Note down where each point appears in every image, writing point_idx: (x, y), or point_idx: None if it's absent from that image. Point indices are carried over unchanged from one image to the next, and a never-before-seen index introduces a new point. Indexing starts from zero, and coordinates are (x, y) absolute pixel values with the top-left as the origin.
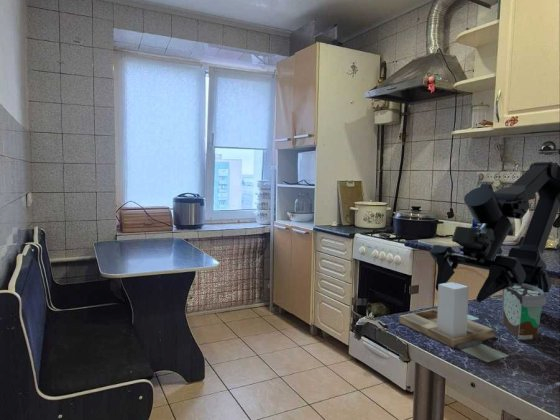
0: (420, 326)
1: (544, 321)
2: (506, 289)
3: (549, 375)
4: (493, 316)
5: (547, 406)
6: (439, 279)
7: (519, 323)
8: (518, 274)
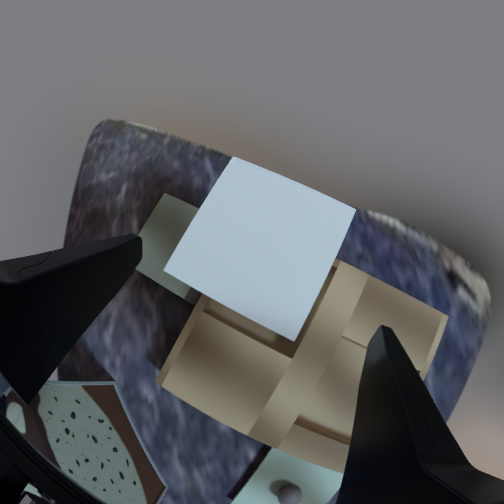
0: (368, 275)
1: None
2: None
3: (72, 226)
4: None
5: (98, 126)
6: (396, 365)
7: (83, 389)
8: None
